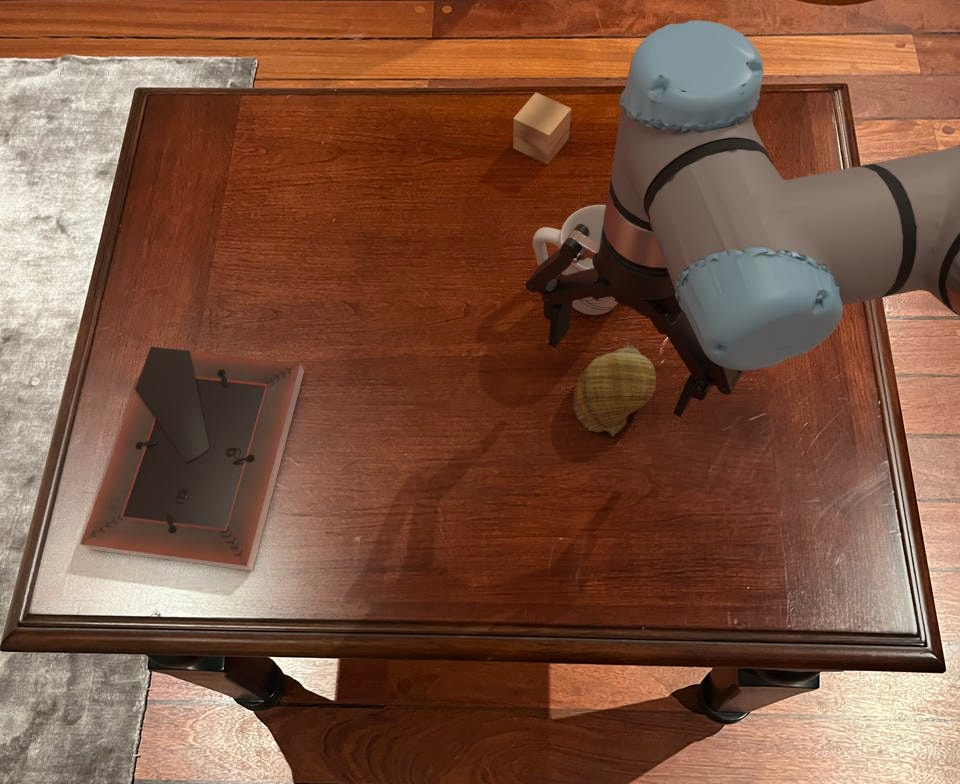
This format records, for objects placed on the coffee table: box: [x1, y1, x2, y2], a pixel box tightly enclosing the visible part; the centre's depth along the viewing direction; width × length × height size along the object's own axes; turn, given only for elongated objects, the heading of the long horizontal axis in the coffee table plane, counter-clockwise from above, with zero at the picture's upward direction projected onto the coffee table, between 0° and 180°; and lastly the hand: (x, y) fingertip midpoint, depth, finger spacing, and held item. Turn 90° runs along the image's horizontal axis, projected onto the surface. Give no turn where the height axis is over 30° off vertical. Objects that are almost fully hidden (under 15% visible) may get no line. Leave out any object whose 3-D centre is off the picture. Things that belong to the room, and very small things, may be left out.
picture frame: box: [79, 346, 305, 572], centre depth 81 cm, size 16×2×22 cm
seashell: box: [572, 344, 657, 438], centre depth 81 cm, size 10×7×8 cm
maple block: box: [512, 92, 572, 166], centre depth 97 cm, size 5×5×5 cm
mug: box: [532, 204, 619, 316], centre depth 85 cm, size 11×8×10 cm
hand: (619, 370), depth 77 cm, fingers open, 13 cm apart
